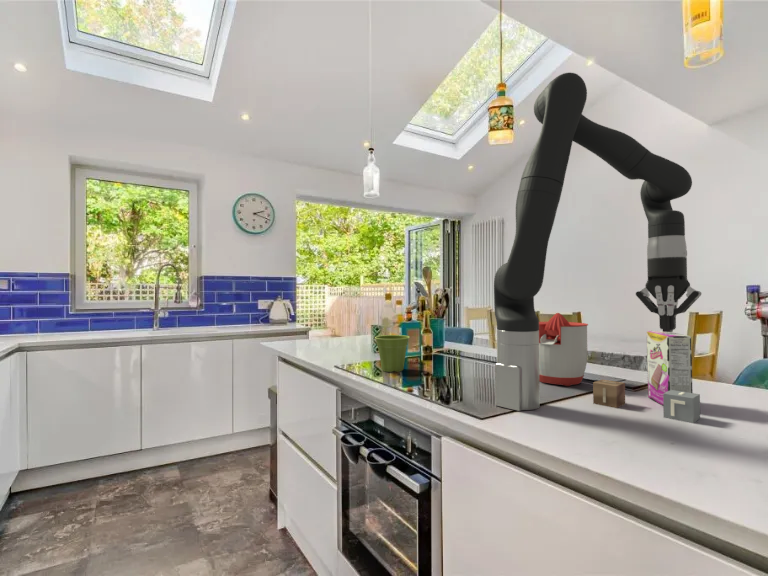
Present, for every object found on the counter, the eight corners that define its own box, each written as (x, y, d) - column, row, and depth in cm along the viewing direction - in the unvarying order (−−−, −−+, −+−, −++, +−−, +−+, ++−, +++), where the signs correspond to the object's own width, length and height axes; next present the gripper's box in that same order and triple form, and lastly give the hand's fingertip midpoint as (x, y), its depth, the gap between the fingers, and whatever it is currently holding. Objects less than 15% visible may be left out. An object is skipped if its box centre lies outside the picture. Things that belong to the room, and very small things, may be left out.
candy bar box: (646, 397, 100) (645, 330, 100) (669, 398, 99) (668, 330, 99) (668, 410, 89) (667, 335, 89) (694, 411, 88) (693, 335, 88)
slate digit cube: (693, 423, 80) (692, 397, 80) (663, 418, 84) (663, 393, 84) (700, 418, 83) (699, 393, 83) (671, 413, 87) (670, 389, 87)
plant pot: (380, 366, 144) (379, 334, 144) (413, 368, 141) (412, 335, 141) (370, 372, 132) (370, 338, 133) (405, 374, 129) (405, 339, 129)
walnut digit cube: (616, 408, 91) (616, 385, 91) (593, 404, 95) (592, 381, 95) (625, 404, 94) (625, 382, 94) (602, 400, 98) (602, 378, 98)
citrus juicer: (519, 383, 116) (518, 313, 116) (541, 374, 129) (540, 311, 129) (578, 392, 106) (577, 314, 106) (595, 381, 119) (594, 312, 119)
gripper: (628, 258, 97) (630, 331, 97) (697, 253, 87) (698, 335, 87) (640, 259, 102) (641, 329, 102) (706, 255, 92) (707, 332, 92)
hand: (667, 331), depth 94 cm, fingers closed
